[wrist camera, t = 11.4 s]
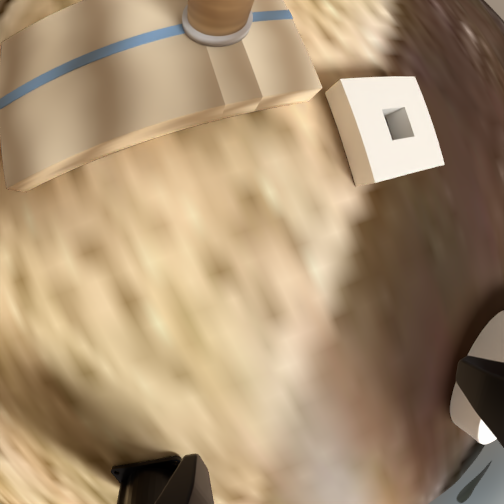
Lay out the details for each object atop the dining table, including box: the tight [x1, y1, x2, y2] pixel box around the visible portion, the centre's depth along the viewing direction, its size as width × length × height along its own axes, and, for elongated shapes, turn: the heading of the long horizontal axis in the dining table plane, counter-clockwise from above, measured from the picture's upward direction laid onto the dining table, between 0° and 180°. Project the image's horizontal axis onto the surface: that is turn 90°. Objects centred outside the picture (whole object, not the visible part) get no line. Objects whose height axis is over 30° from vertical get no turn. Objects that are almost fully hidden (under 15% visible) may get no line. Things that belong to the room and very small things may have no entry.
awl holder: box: [325, 77, 445, 186], centre depth 19 cm, size 7×7×2 cm
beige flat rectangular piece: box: [0, 0, 322, 192], centre depth 15 cm, size 20×12×3 cm, turn 107°
